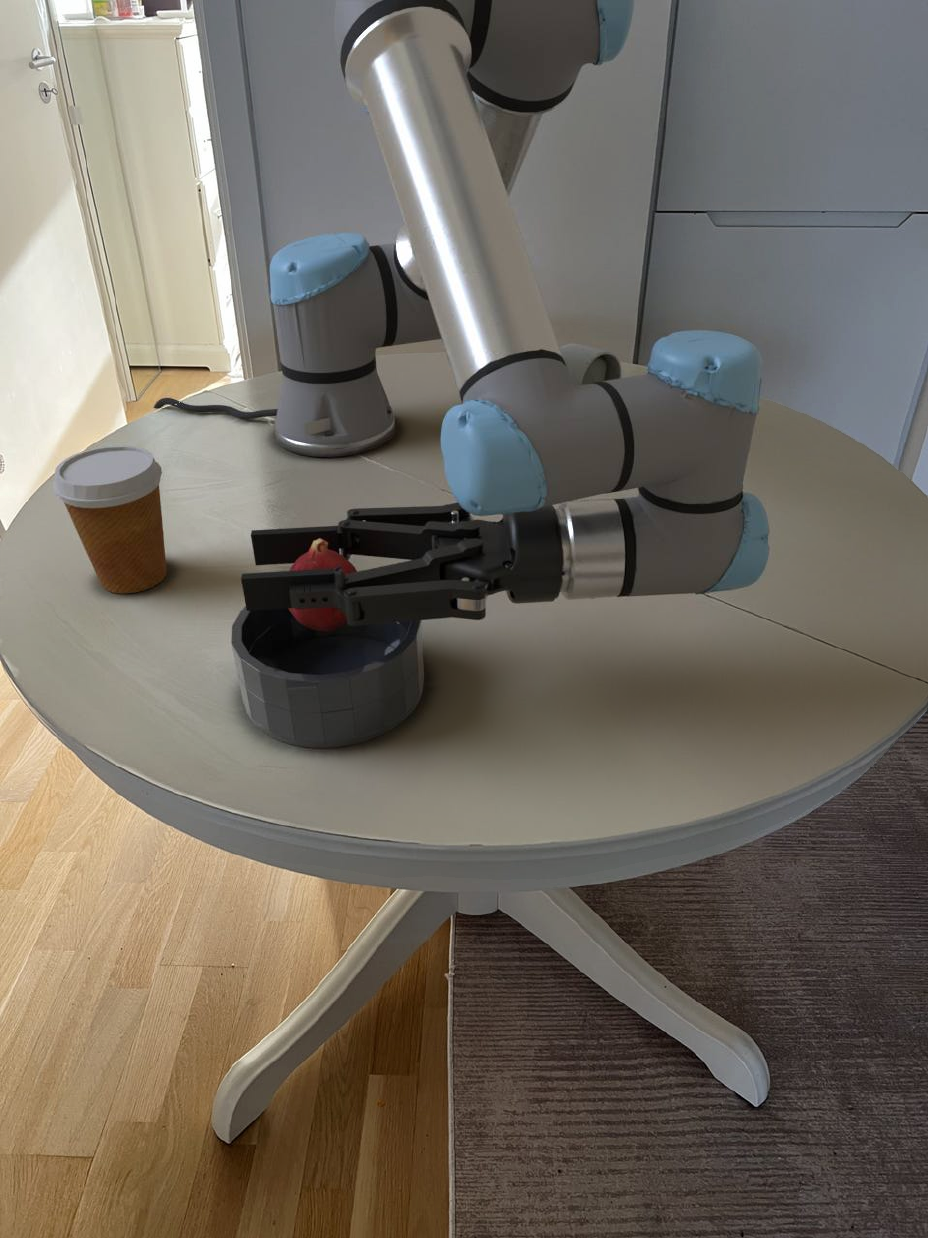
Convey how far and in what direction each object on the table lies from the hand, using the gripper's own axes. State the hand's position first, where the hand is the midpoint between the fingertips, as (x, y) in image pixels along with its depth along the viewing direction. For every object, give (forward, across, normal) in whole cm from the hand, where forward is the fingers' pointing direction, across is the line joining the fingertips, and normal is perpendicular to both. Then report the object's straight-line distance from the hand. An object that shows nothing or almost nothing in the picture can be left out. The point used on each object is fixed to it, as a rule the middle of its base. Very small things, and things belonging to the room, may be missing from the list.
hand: (249, 569), depth 68 cm
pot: (-5, 0, -12) cm, 13 cm away
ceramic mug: (-36, +59, -12) cm, 70 cm away
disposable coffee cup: (+15, +20, -12) cm, 27 cm away
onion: (-5, 0, -6) cm, 8 cm away
